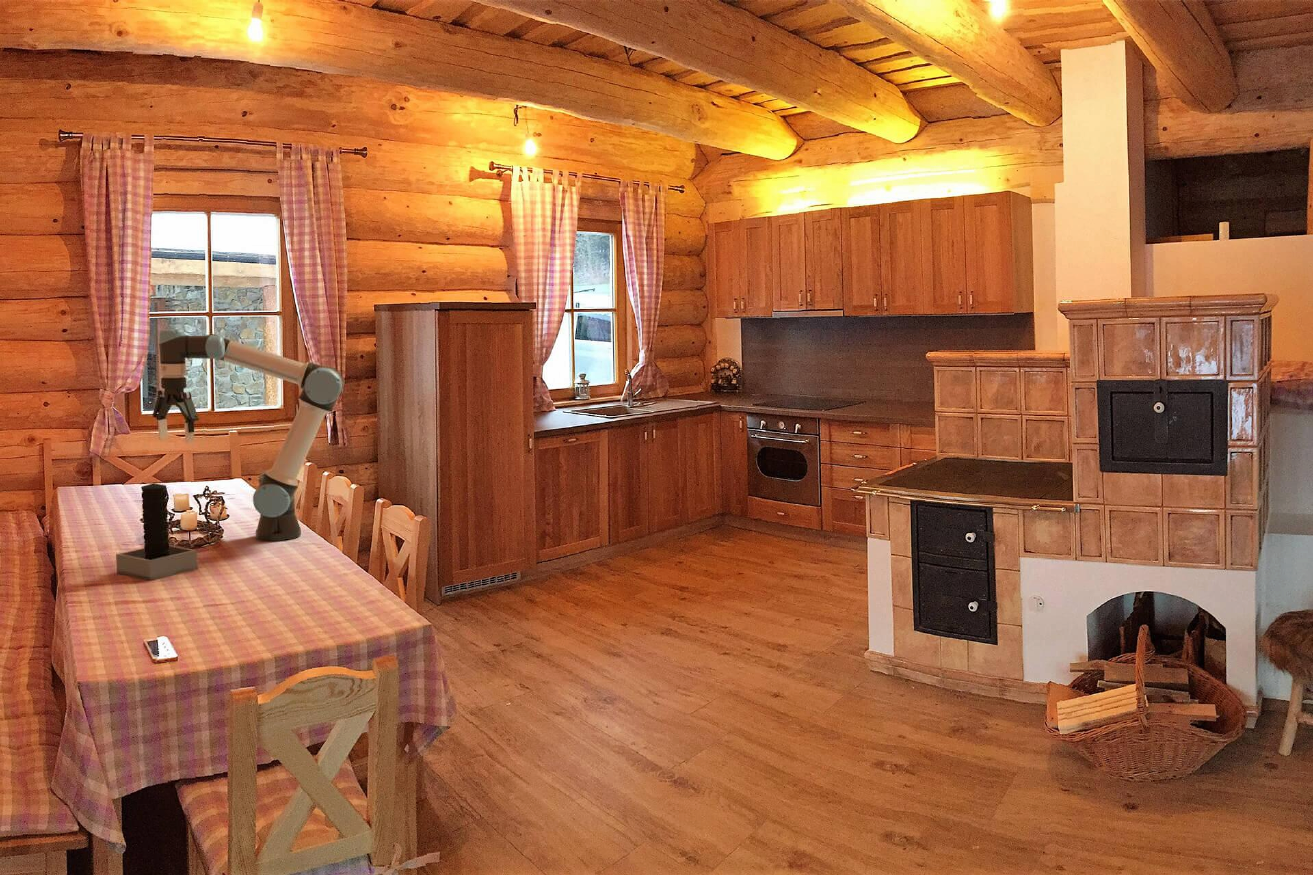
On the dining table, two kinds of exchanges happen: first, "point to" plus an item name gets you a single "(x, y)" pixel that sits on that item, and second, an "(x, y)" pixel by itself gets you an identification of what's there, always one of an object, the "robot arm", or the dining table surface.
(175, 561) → the box
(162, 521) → the handle grip
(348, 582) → the dining table surface
